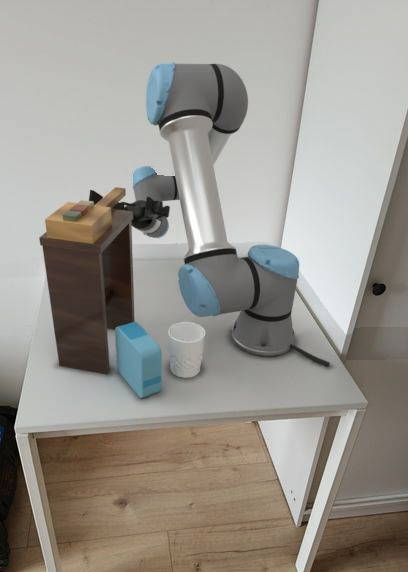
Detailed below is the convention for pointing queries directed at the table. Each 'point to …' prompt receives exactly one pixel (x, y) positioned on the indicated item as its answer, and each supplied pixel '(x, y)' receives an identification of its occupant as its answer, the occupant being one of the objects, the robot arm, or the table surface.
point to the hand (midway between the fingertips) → (118, 199)
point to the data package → (138, 359)
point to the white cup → (186, 348)
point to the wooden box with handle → (83, 219)
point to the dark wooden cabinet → (90, 292)
